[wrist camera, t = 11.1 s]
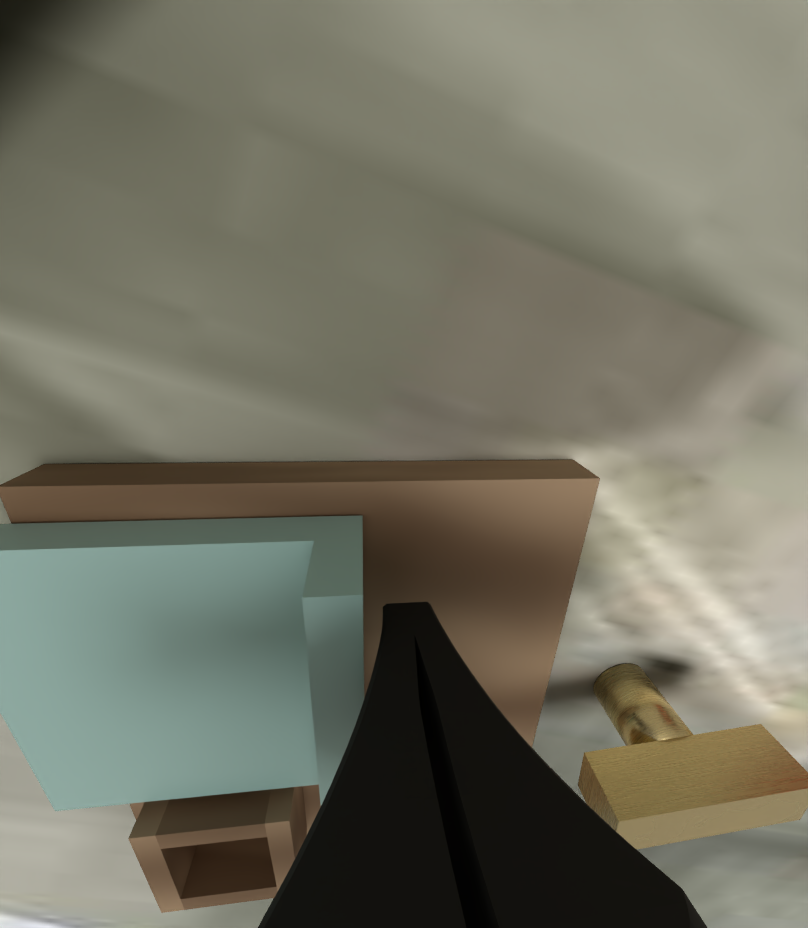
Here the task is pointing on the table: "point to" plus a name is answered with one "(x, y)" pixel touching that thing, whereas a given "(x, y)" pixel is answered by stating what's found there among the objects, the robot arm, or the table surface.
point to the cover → (181, 654)
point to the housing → (384, 581)
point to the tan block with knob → (684, 771)
